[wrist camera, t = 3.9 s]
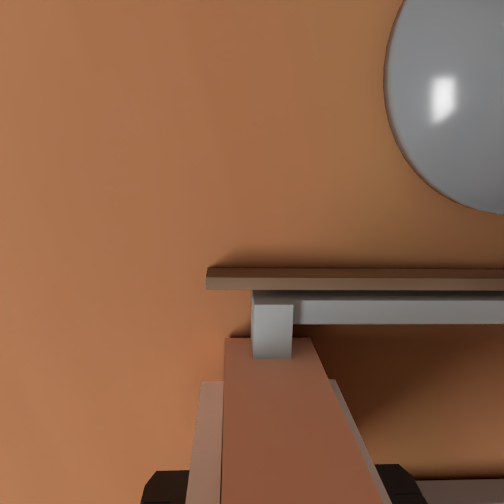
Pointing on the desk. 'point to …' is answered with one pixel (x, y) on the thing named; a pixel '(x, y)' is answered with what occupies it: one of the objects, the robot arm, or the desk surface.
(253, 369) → the frame
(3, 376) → the desk surface
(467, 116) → the coaster
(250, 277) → the lane rack
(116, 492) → the desk surface
